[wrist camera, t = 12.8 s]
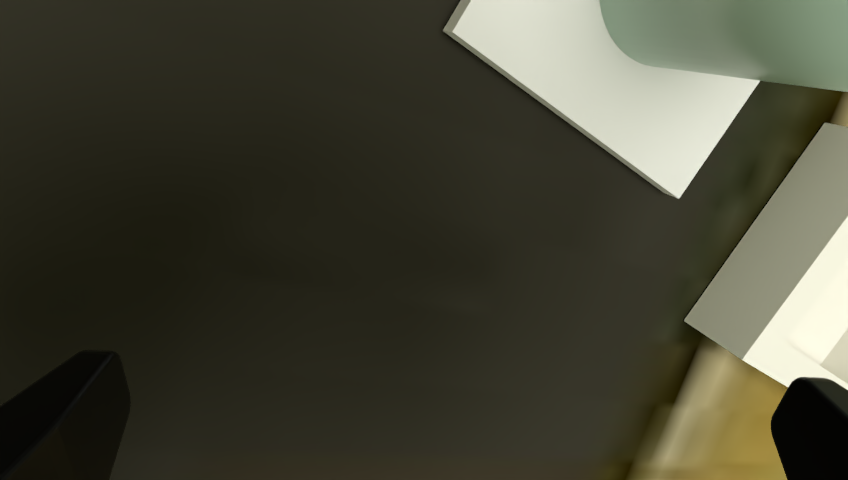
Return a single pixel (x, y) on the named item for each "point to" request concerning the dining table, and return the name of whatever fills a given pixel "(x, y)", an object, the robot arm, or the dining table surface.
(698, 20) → the light green piece
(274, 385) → the dining table surface
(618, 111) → the cream panel
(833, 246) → the shallow square tray
